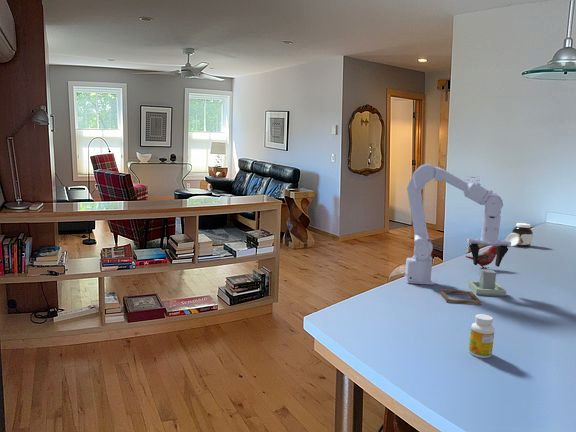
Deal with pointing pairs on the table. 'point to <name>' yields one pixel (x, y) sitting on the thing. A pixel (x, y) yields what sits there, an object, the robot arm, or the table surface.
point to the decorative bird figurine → (486, 257)
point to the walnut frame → (474, 301)
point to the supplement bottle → (482, 336)
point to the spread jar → (521, 235)
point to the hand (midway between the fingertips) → (486, 265)
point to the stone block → (487, 279)
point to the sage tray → (489, 292)
